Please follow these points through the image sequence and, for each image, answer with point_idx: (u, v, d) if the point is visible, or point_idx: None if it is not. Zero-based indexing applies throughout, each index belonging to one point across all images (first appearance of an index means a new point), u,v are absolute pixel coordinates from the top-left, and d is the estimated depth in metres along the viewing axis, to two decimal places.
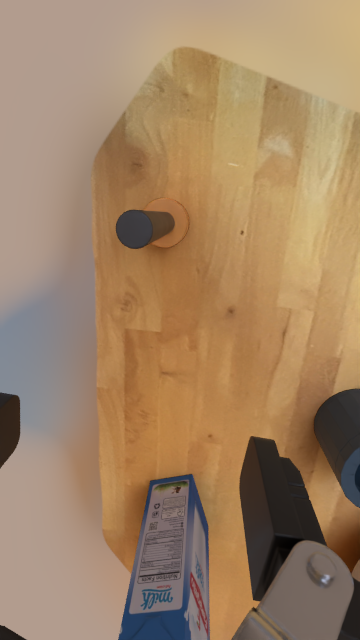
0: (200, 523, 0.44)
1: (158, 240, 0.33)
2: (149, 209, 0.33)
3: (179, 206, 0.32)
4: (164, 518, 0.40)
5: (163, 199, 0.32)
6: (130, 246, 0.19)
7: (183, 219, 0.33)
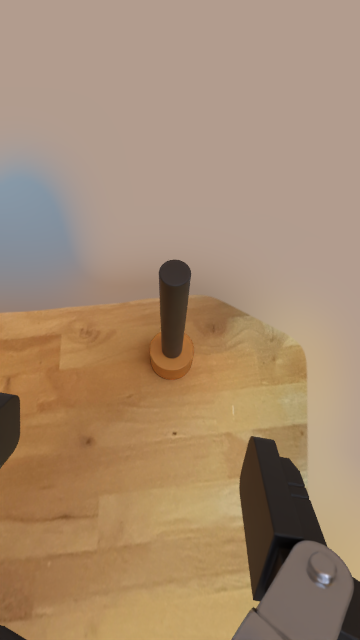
0: None
1: (155, 346, 0.36)
2: None
3: (189, 360, 0.35)
4: None
5: (192, 345, 0.36)
6: (160, 271, 0.22)
7: (178, 365, 0.35)
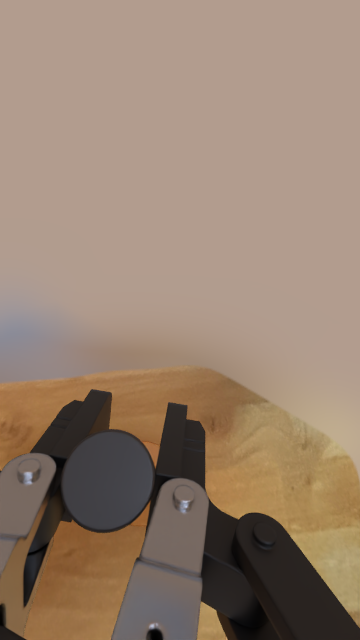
0: None
1: None
2: None
3: None
4: None
5: None
6: (65, 472, 0.08)
7: None
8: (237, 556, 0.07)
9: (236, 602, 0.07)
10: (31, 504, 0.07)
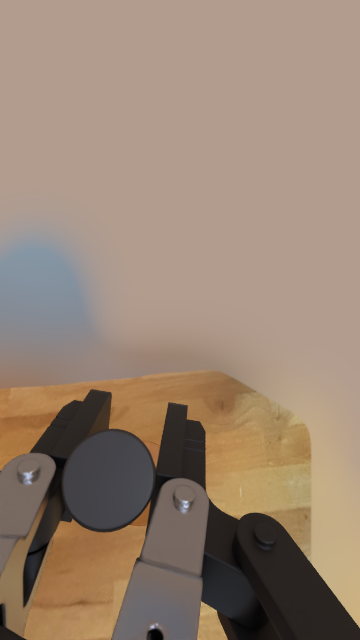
0: None
1: None
2: (158, 453, 0.21)
3: None
4: None
5: None
6: (66, 472, 0.08)
7: None
8: (237, 556, 0.07)
9: (236, 602, 0.07)
10: (31, 504, 0.07)
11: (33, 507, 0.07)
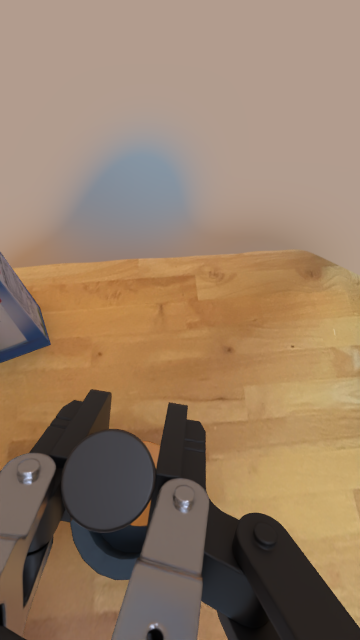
0: (0, 348, 0.40)
1: None
2: (158, 454, 0.21)
3: None
4: (26, 301, 0.40)
5: None
6: (66, 472, 0.08)
7: None
8: (238, 556, 0.07)
9: (237, 602, 0.07)
10: (31, 504, 0.07)
11: (33, 507, 0.07)
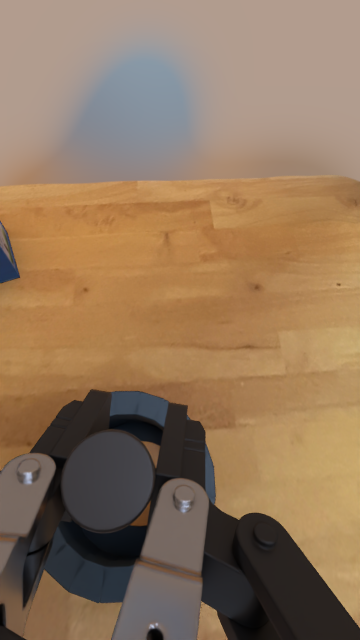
0: None
1: None
2: (158, 454, 0.21)
3: None
4: None
5: None
6: (65, 472, 0.08)
7: None
8: (237, 556, 0.07)
9: (236, 602, 0.07)
10: (31, 504, 0.07)
11: (33, 507, 0.07)
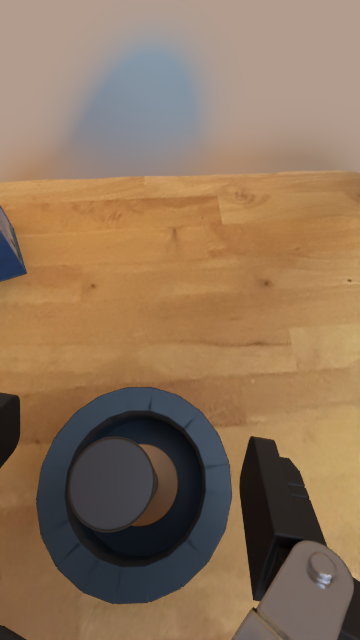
0: None
1: None
2: (158, 456, 0.22)
3: (169, 505, 0.21)
4: None
5: (175, 476, 0.22)
6: (72, 477, 0.08)
7: (150, 515, 0.20)
8: None
9: None
10: None
11: None
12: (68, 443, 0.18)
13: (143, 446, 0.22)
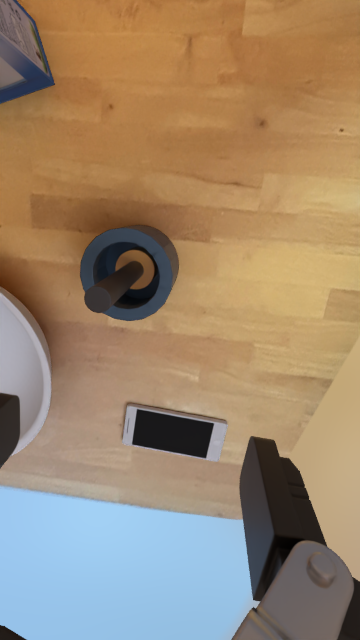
0: None
1: (120, 265, 0.40)
2: (145, 258, 0.39)
3: (148, 283, 0.40)
4: (11, 18, 0.31)
5: (153, 270, 0.40)
6: (85, 296, 0.26)
7: (138, 285, 0.40)
8: None
9: None
10: None
11: None
12: (92, 253, 0.35)
13: (137, 251, 0.39)
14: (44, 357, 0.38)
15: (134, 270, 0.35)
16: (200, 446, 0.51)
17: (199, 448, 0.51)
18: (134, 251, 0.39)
